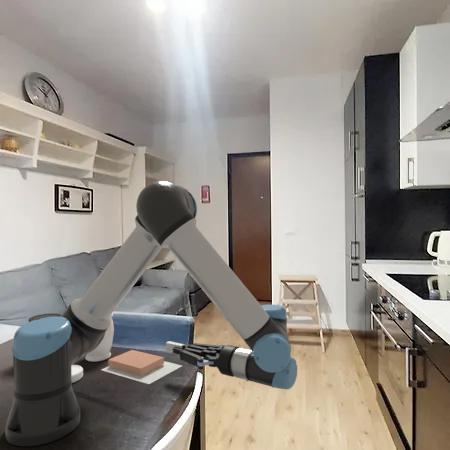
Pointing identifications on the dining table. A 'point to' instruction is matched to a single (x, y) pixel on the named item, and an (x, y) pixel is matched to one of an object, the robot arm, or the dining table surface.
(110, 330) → the jar
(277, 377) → the robot arm
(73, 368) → the white bowl
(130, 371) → the tile
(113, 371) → the mat
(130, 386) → the dining table surface
